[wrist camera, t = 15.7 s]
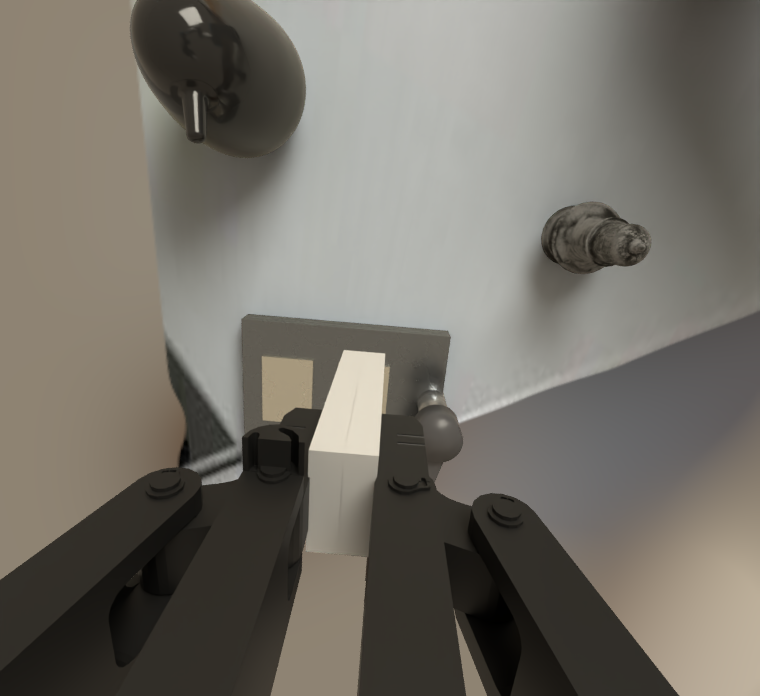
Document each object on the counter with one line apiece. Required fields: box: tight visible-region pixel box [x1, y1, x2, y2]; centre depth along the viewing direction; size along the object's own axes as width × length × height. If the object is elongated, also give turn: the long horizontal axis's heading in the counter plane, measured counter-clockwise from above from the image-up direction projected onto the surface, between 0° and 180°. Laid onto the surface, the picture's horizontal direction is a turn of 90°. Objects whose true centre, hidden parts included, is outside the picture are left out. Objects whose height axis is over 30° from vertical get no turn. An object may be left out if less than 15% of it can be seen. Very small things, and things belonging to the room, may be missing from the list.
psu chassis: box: [242, 314, 451, 434], centre depth 41 cm, size 20×14×6 cm
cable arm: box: [365, 404, 463, 581], centre depth 40 cm, size 19×4×6 cm, turn 162°
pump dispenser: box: [130, 0, 306, 158], centre depth 29 cm, size 10×10×15 cm
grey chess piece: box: [542, 202, 651, 274], centre depth 33 cm, size 6×6×12 cm
